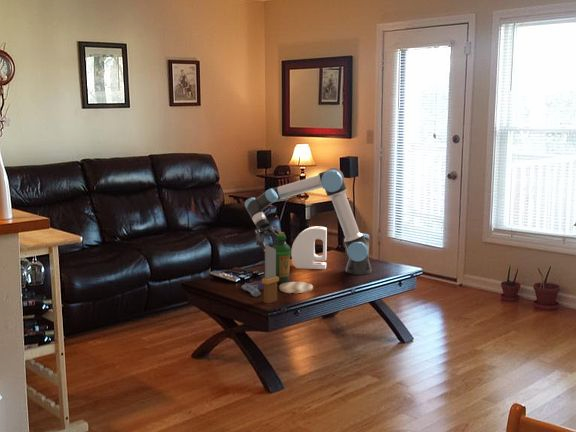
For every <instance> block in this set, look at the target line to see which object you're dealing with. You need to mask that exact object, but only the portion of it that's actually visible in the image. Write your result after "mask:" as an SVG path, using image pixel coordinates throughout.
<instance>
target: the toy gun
mask: <svg viewBox="0 0 576 432" xmlns="http://www.w3.org/2000/svg"><path fill="white" fill-rule="evenodd" d="M241 289H243V291H245V292H249V293H250V295H251V296H252V297H256V298H258V296H261V294H262V293H261V291H262V290H264V283H262V280H255V281H253V282H251V283H247V282H244V284H242V285H241Z"/></svg>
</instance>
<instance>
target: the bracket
mask: <svg viewBox="0 0 576 432" xmlns="http://www.w3.org/2000/svg"><path fill="white" fill-rule="evenodd" d="M327 229H328V228H327V227H325V226H321V225H320V226H318V225H316V226H310V227H308V228H305V229H304V230H302V231H301V232H300V233H298V235H297V236H296V238H295V239H294V241H293V243H292V246H291V252H290V257H291V260H292V263H293V265H294V267H295V268H296V269H310V270H326V268H327V262H325V261H327V256H328V255H327V249H328V248H327V244H328V243H327V241H328V240H327V238H328V237H327V236H328V235H327V234H328V231H327ZM316 240H321V241H322V255H318V254H316V249H315V248H316V247H315V246H316V244H315V242H316ZM321 261H322V262H321Z"/></svg>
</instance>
